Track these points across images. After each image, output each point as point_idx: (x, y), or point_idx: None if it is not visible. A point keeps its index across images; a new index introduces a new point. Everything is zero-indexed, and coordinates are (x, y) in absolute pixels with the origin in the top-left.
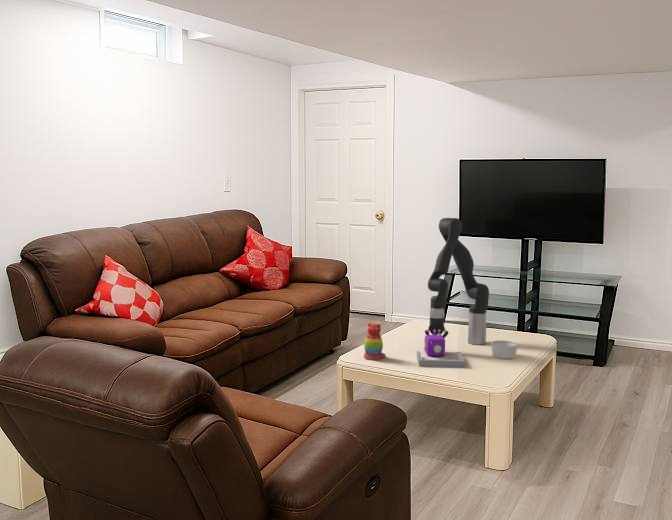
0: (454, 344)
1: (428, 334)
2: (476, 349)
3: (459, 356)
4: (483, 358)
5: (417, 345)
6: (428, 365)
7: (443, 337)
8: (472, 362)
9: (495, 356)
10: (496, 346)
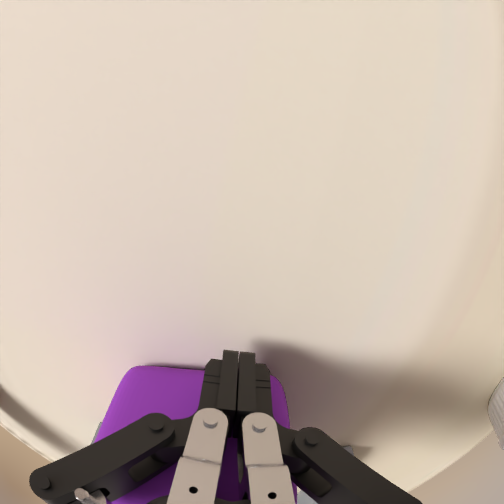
0: (481, 112)
1: (108, 497)
2: None
3: (313, 501)
4: (444, 424)
5: (74, 116)
6: None
7: (319, 489)
8: None
9: (489, 404)
10: (500, 445)
